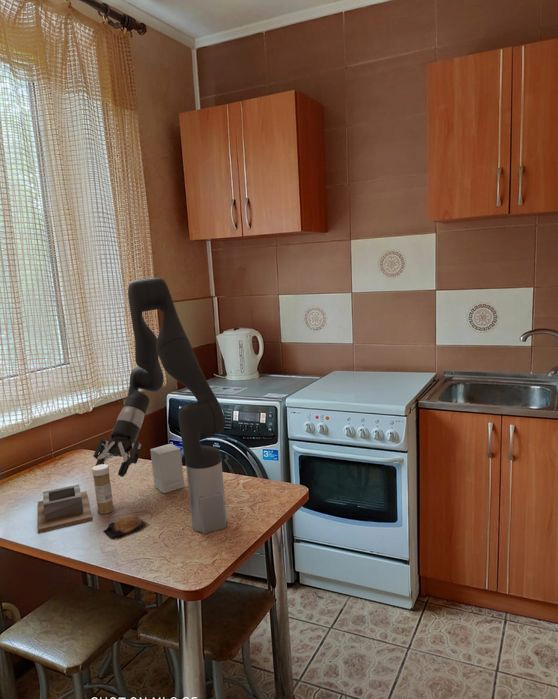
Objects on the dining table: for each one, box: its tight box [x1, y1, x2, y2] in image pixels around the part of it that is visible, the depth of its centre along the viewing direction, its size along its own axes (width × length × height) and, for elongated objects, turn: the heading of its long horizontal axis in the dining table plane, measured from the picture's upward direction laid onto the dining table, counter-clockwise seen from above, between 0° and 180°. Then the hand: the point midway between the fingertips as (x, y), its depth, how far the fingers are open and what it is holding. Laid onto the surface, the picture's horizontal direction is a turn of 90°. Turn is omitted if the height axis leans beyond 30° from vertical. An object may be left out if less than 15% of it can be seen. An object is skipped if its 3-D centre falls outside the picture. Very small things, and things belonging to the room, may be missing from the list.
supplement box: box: [150, 443, 185, 494], centre depth 172 cm, size 7×7×13 cm
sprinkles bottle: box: [91, 463, 115, 515], centre depth 157 cm, size 5×5×14 cm
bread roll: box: [102, 514, 150, 540], centre depth 147 cm, size 11×8×4 cm
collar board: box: [37, 484, 94, 534], centre depth 159 cm, size 20×14×6 cm
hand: (108, 474), depth 160 cm, fingers open, 8 cm apart
